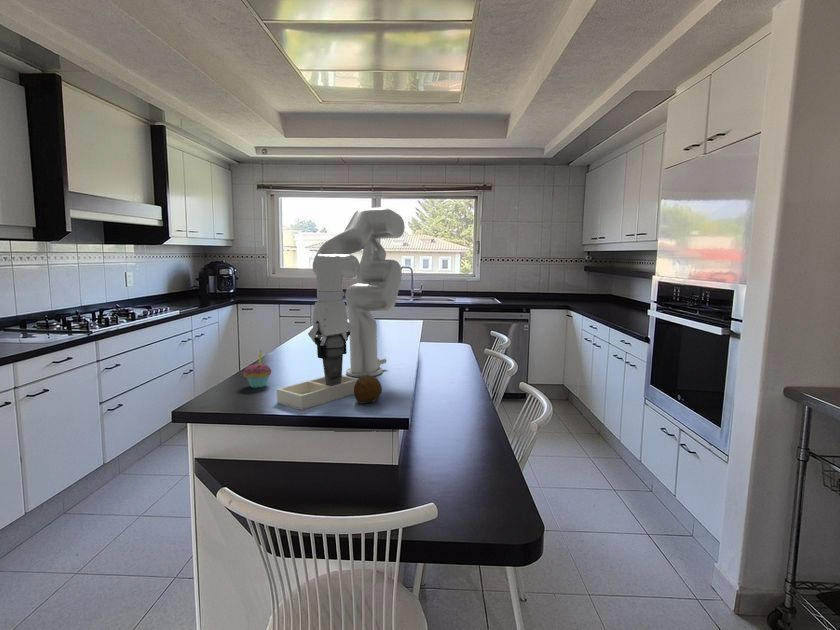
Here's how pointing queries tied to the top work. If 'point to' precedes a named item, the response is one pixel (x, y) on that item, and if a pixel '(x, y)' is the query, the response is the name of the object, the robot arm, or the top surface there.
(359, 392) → the potato
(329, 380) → the beverage cup
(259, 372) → the cupcake
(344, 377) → the cup carrier
